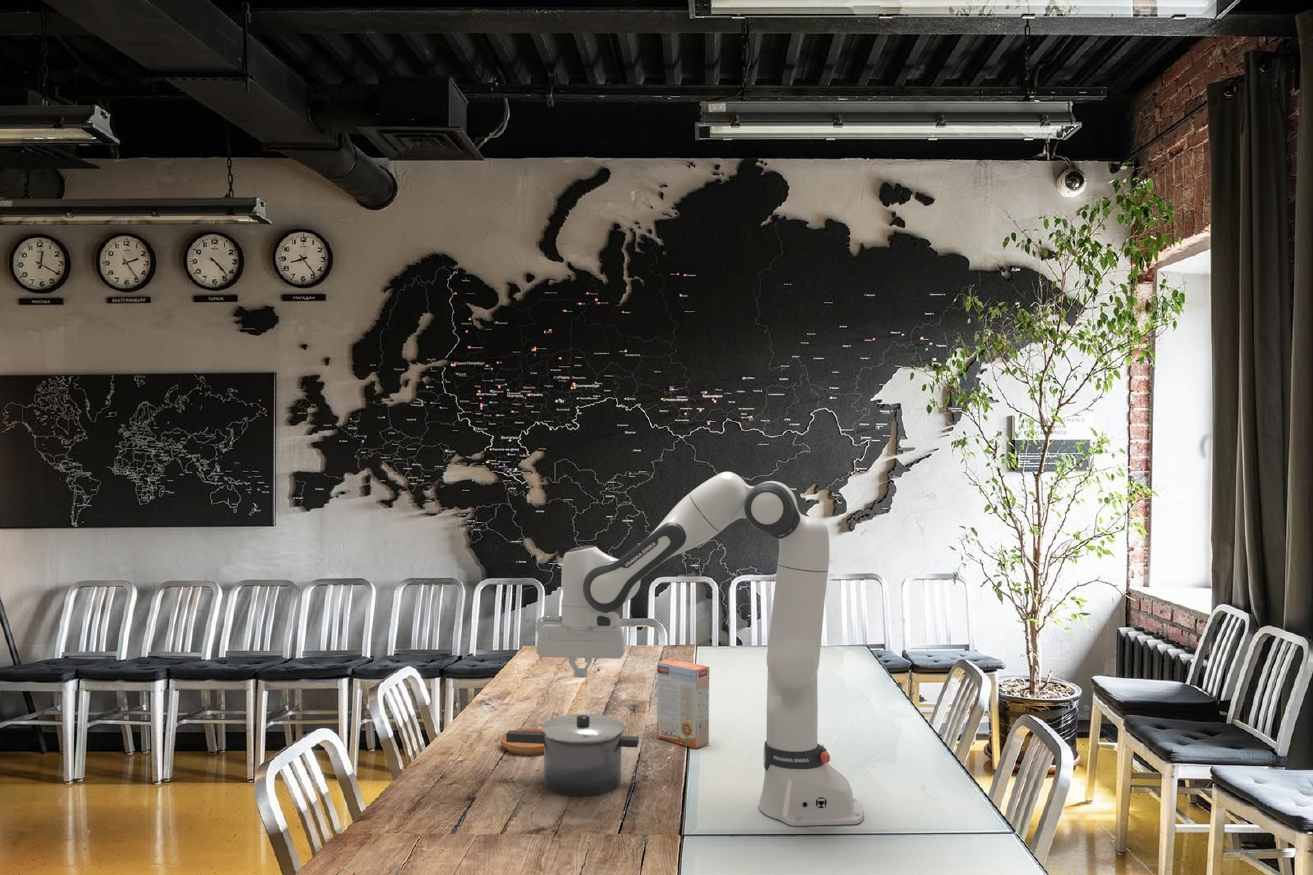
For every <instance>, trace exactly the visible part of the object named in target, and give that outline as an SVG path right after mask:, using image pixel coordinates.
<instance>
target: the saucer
mask: <svg viewBox="0 0 1313 875" xmlns="http://www.w3.org/2000/svg"><path fill="white" fill-rule="evenodd" d="M512 731H530V732H542V728H538V727H537V728H531V727H530V728H520V729H514V730H512ZM506 734H507V732H505V733H503V734H502V735H501V736H500V738H499V740H500V741H499V742H500V744H501V745H502V746H503V747H504V749H506V751H508V752H509V753H512V754H515V755H521V756H534V755H542V754H543V755H544V744H535V743H513V742H506Z"/></svg>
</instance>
